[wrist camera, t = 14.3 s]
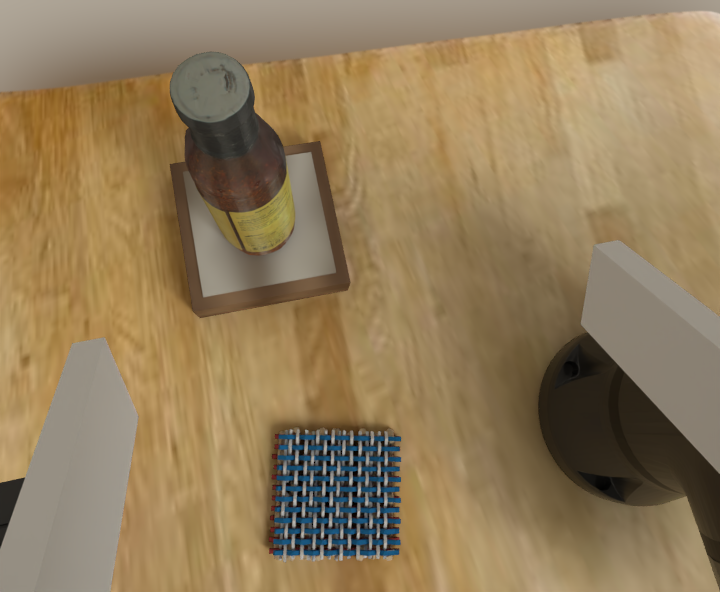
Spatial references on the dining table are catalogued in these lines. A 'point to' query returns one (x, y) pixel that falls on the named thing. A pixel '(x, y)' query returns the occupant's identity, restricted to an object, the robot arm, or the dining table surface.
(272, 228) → the sauce bottle
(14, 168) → the dining table surface
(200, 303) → the walnut plinth
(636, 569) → the dining table surface
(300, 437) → the woven mat
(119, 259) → the dining table surface
